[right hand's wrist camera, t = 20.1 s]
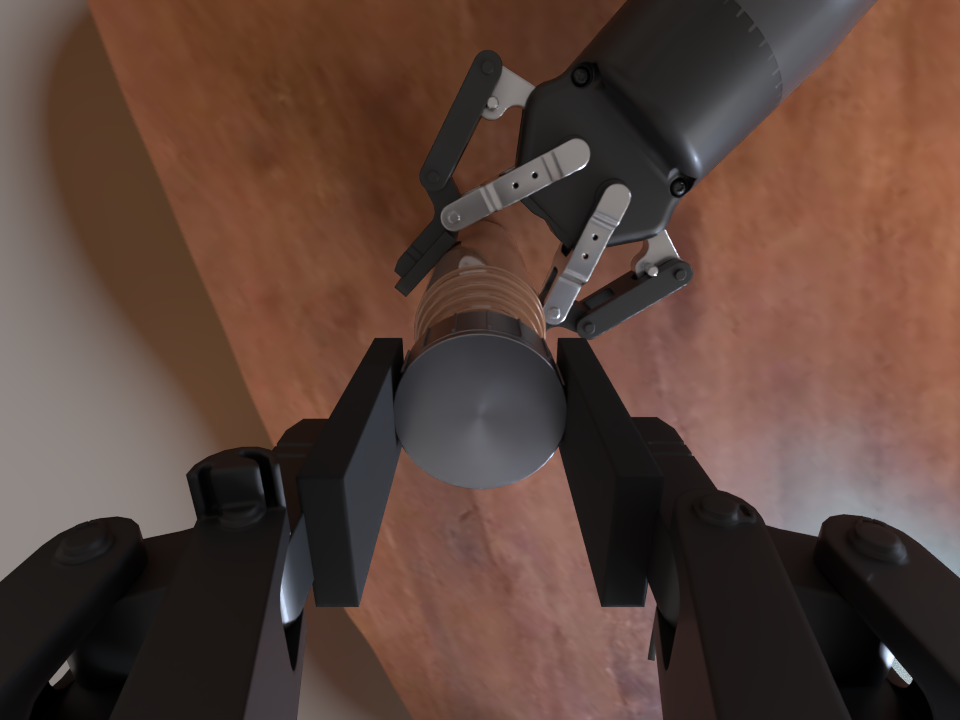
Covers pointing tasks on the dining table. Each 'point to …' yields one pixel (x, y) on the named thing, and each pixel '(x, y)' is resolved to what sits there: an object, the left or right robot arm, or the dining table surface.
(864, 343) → the dining table surface
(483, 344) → the cap
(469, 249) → the bottle
